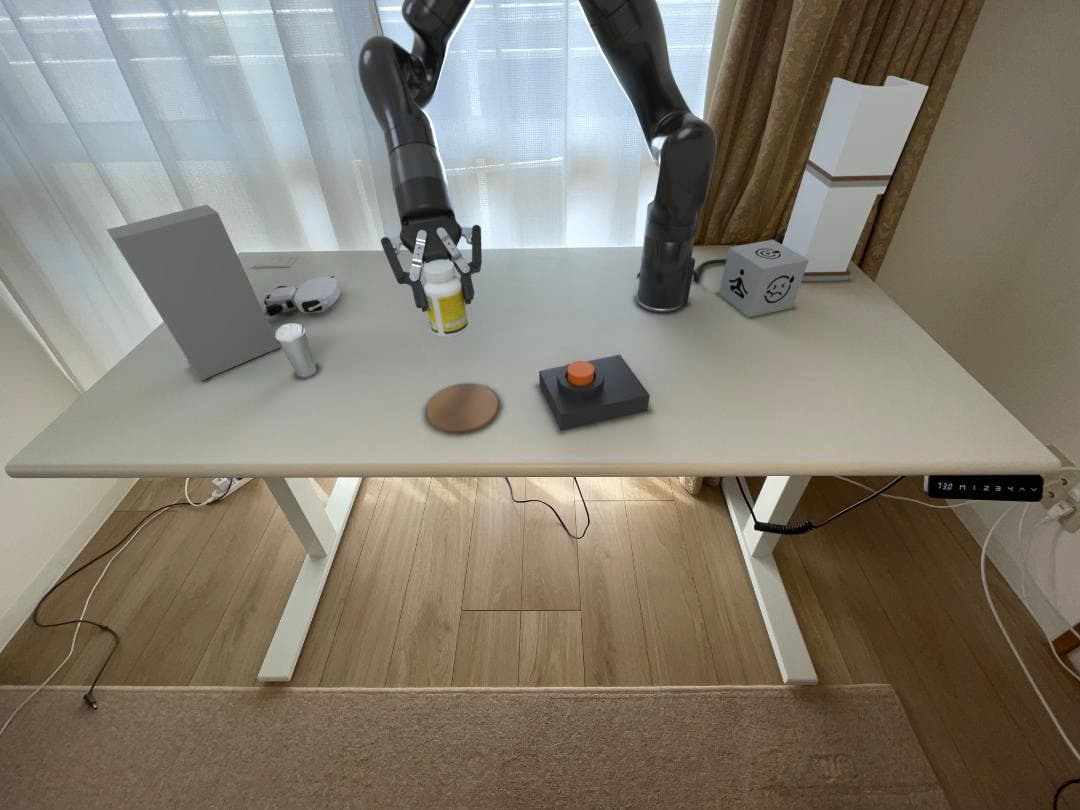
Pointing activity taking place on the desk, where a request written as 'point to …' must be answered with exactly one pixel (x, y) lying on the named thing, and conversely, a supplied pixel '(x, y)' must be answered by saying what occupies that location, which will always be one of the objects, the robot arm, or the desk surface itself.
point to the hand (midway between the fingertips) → (446, 306)
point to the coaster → (462, 408)
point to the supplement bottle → (444, 299)
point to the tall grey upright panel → (197, 287)
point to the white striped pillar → (849, 170)
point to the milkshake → (296, 348)
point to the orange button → (580, 373)
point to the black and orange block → (594, 393)
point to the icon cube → (762, 277)
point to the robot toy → (303, 297)
